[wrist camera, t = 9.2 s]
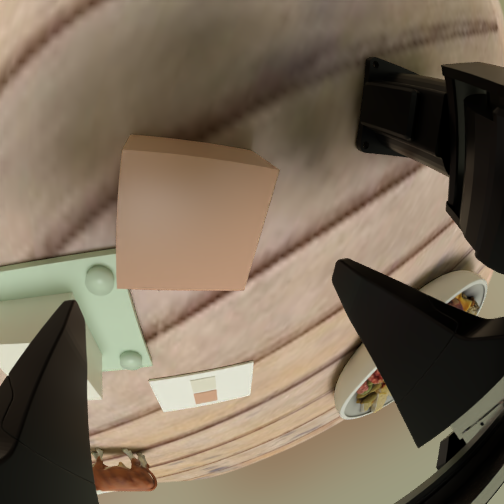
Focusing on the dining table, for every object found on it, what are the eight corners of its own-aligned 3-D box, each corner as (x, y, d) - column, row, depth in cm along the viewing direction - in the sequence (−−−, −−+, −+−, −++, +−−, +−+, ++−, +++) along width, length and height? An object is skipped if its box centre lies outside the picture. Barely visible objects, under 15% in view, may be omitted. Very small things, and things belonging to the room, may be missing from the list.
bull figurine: (65, 443, 26) (69, 490, 20) (149, 447, 32) (160, 494, 25) (72, 451, 28) (76, 495, 22) (150, 454, 34) (160, 498, 28)
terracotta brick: (250, 149, 15) (279, 170, 12) (225, 250, 18) (243, 290, 15) (130, 133, 12) (122, 149, 9) (121, 245, 15) (116, 288, 12)
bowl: (464, 309, 45) (486, 333, 39) (356, 404, 49) (374, 432, 43) (468, 217, 27) (513, 251, 21) (287, 380, 31) (315, 434, 25)
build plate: (118, 247, 15) (117, 259, 14) (151, 360, 21) (153, 371, 20) (-43, 274, 11) (-49, 285, 10) (17, 369, 17) (16, 379, 16)
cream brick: (72, 292, 15) (62, 340, 12) (102, 355, 18) (102, 399, 15) (-2, 301, 13) (-18, 344, 10) (36, 359, 16) (30, 400, 13)
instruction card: (252, 360, 25) (254, 362, 25) (249, 393, 29) (250, 395, 29) (148, 379, 22) (148, 382, 22) (163, 410, 26) (163, 412, 26)
